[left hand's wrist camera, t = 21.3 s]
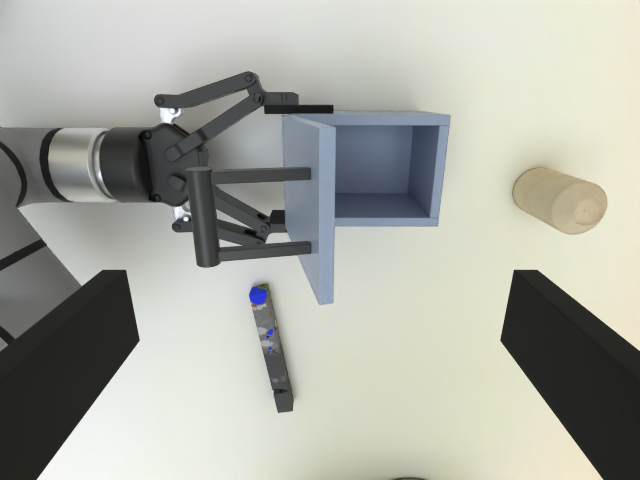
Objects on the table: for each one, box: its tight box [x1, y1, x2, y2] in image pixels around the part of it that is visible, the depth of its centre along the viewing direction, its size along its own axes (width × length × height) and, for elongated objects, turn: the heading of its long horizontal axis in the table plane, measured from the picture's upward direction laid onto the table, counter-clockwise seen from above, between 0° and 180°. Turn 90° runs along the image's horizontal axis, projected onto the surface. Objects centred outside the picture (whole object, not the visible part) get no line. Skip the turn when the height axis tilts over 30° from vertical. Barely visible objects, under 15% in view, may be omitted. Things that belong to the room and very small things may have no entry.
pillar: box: [249, 284, 294, 413], centre depth 54 cm, size 2×2×20 cm
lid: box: [185, 115, 336, 305], centre depth 27 cm, size 15×10×8 cm
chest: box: [289, 111, 450, 226], centre depth 40 cm, size 14×10×11 cm
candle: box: [513, 168, 607, 235], centre depth 42 cm, size 6×6×10 cm
